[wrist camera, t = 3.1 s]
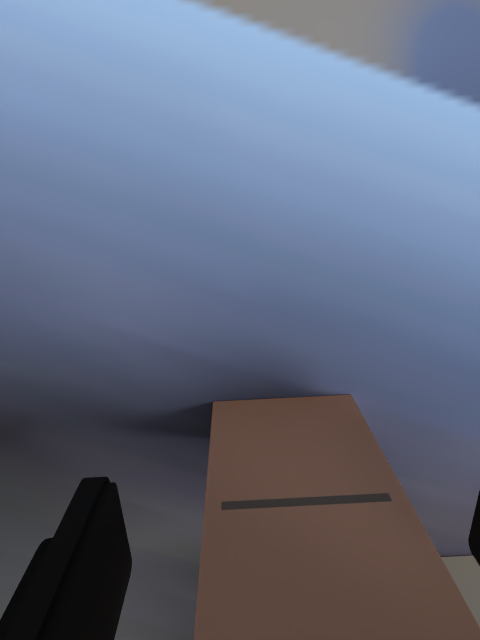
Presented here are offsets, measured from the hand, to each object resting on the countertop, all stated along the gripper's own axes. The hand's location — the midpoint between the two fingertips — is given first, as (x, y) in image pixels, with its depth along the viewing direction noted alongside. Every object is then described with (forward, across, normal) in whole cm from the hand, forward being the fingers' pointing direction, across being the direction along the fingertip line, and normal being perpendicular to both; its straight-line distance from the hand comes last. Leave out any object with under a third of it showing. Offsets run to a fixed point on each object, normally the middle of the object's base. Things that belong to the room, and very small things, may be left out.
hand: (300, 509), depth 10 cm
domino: (+4, 0, 0) cm, 4 cm away
